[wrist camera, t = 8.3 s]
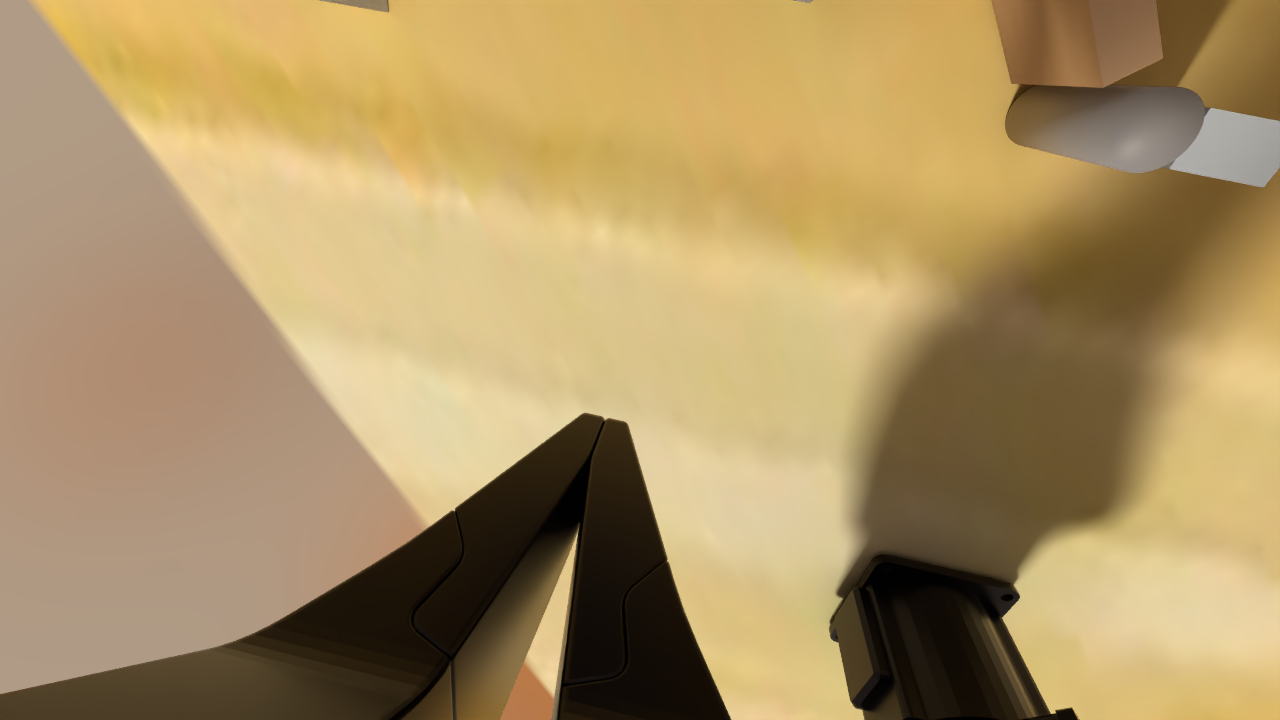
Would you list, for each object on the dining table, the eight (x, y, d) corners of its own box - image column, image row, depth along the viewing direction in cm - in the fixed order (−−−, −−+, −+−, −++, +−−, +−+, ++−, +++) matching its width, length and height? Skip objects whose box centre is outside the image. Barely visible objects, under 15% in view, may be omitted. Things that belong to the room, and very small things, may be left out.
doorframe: (1167, 104, 13) (1341, 118, 10) (1127, 166, 14) (1273, 201, 10) (316, -60, 14) (171, -107, 11) (325, 7, 15) (193, -14, 11)
